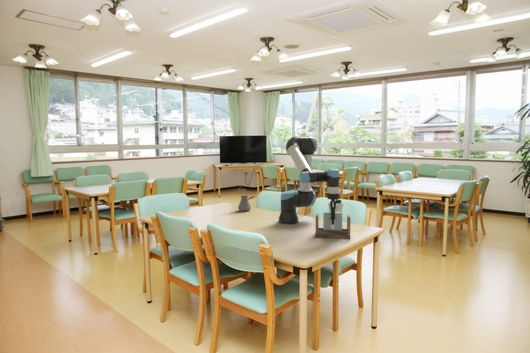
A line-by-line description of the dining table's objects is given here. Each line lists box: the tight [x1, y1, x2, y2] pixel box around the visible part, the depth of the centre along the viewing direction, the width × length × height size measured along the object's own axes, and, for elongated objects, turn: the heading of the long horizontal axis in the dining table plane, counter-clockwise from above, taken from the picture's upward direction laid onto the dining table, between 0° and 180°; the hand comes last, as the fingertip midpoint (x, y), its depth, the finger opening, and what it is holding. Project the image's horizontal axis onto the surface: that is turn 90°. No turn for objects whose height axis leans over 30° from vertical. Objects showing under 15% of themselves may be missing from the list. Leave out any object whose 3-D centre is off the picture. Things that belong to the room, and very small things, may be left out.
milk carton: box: [328, 199, 344, 213], centre depth 258 cm, size 9×9×20 cm
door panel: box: [322, 211, 343, 231], centre depth 239 cm, size 3×12×14 cm, turn 80°
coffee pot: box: [237, 195, 256, 213], centre depth 315 cm, size 21×12×15 cm, turn 37°
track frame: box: [314, 213, 351, 240], centre depth 239 cm, size 12×22×14 cm, turn 80°
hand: (332, 227), depth 239 cm, fingers open, 5 cm apart
